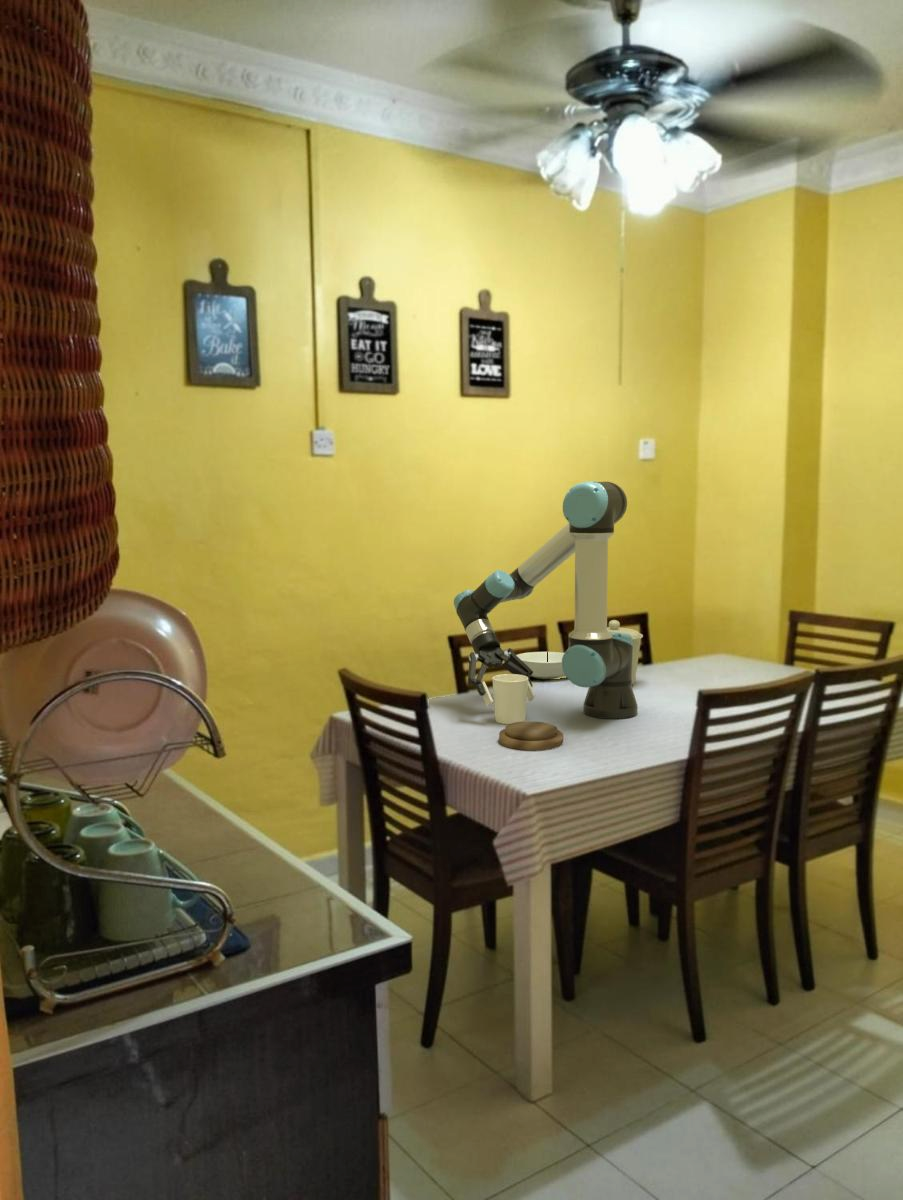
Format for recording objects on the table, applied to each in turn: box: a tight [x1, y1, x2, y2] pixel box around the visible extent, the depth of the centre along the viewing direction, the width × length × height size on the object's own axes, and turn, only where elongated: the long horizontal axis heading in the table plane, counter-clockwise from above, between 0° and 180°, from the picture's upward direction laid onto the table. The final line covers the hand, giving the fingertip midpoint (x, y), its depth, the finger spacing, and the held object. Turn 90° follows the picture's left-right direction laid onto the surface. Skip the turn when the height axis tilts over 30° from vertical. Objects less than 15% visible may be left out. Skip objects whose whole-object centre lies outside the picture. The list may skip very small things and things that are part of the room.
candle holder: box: [491, 673, 528, 725], centre depth 252 cm, size 10×10×12 cm
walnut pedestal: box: [498, 720, 564, 752], centre depth 232 cm, size 16×16×4 cm
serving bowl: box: [515, 651, 565, 680], centre depth 310 cm, size 21×21×7 cm
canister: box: [607, 619, 644, 685], centre depth 295 cm, size 18×18×21 cm
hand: (511, 701), depth 251 cm, fingers open, 13 cm apart
